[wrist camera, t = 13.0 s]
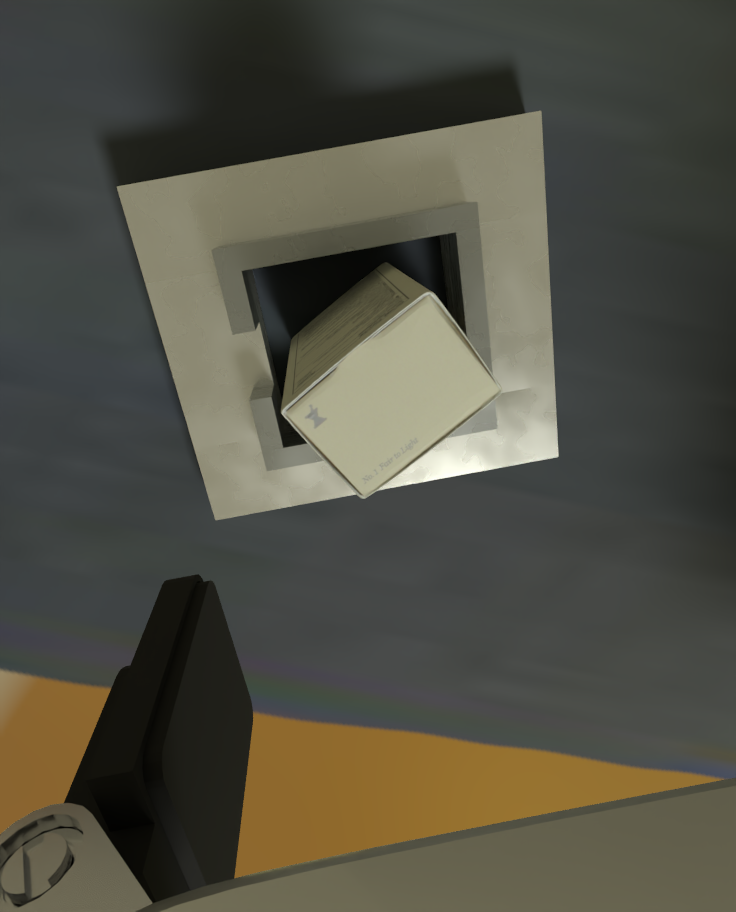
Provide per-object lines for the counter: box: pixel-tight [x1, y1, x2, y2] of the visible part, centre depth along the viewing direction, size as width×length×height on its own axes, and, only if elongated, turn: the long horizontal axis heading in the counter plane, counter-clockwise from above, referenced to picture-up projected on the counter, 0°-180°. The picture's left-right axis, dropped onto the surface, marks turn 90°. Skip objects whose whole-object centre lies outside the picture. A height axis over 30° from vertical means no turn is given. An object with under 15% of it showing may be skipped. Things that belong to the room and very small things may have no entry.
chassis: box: [117, 111, 558, 520], centre depth 29 cm, size 16×18×4 cm
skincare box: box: [281, 263, 503, 498], centre depth 26 cm, size 6×4×12 cm
